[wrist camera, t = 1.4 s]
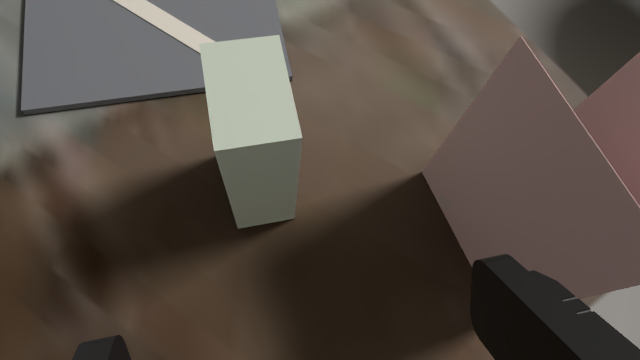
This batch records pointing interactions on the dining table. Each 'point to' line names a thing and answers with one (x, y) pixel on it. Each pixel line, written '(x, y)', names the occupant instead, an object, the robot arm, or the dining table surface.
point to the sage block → (253, 127)
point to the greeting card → (547, 176)
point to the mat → (128, 47)
